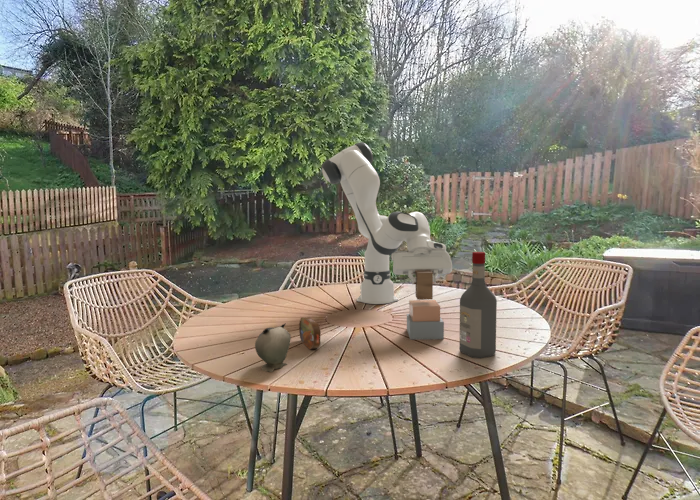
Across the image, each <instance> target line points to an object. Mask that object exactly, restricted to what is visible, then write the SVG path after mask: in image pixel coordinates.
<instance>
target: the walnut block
mask: <svg viewBox="0 0 700 500" xmlns="http://www.w3.org/2000/svg"><path fill="white" fill-rule="evenodd" d="M415 277H416V278H417V284H415V297H416V300H434V299H433V292H434V289H433V287H434V286H433V285H434V284H433V277H434V276H433V273H432V272H431V271H430V270H416V274H415Z"/></svg>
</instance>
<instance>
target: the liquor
mask: <svg viewBox="0 0 700 500" xmlns="http://www.w3.org/2000/svg"><path fill="white" fill-rule="evenodd" d="M471 253H472V254H471V261H472V262H471V263H472V274H471V275H472V279H471V282H470V283H471V284H470V286H469V287H468V288H467V289H466V290H465V291H464V292H463V293H462V294H461V296H460V298H459V351H460V352H461V353H462V354H464V355H466V356H468V357H470V358H474V359H475V358H476V359H484V358H488V357H494V355H495V354H496V350H497V304H498V301H497V300H498V299H497V297H496V295H495V294H494V293H493V292H492V290H491V289H490V288H489V287H488V286H487V283H486V281H485V280H486V277H485V276H486V275H485V271H486V270H485V269H486V268H485V264H486V252H485V251H473V252H471Z"/></svg>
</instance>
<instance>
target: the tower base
mask: <svg viewBox="0 0 700 500" xmlns="http://www.w3.org/2000/svg"><path fill="white" fill-rule="evenodd" d="M444 329H445V322H444V320H443V318H442V317H441V316H440V321H415V322H413V321H412V319H411V317H410V315H409V313H406V332H407V335H408V337H409V340H444V339H445V330H444Z"/></svg>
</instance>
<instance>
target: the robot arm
mask: <svg viewBox="0 0 700 500" xmlns="http://www.w3.org/2000/svg"><path fill="white" fill-rule="evenodd" d="M373 161H374V155H373V152H372V150H371V148H370V146H369V145H368V144H366V143H365V142H363V141H360V142H357V143H354V144H353V145H350V146H348V147H346V148H344V149H342V150H340V152H338V153H336V154H334V155H333V156H332V157H330V158H329V159H326V160H324V161H323V163H322V164H321V171H322V175H323V178H324V179H325V180H326V181H327V182H328V183H329V184H332V185H337V184H340V186H341V189H342V190H343V193H344V194H345V196H346V198H347V200H348V203H349V204H350V206H351V208H352V211H353V213H354V216H355V219H356V222H357V228H358V231H359V233H360V234H361V235H362V236H363V237H364V238H366V239H368V241H367V246H366V250H365V251H364V270H363V278H364V279H363V281H362V282H361V283H360V286H359V287H360V289H359V290H360V291H359V292H360V295H358V297H357V298H356V302H359V303H364V304H370V305H385V304H390V303H393V302H398V301H399V298H398V297H397V296H396V295H395V285H394V282H393V281H392V280H391V269H390V257H391V261H392V262H393V264H392V265H393V266H392V272H393V274H394V275H395V276H398V275H400V276H401V275H403V276H405V275H406V276H407V277H408V278H409V279H410V280H411V284H412V285H416V284H417V278H416V276H415V277H414V275H416V270H430V271H431V272H432V273H433V285H436V284H437V278H438V275H449V274H451V273H452V271H453V263H452V262H453V261H452V258H451V256H450V253H449V252H448V251H447V246H446V244H444V243H440V242H435V241H433V240H432V239H431V228H430V224H429V221H428V219H427V216H426V215H424V213H422V212H419V211H411V212H410V213H407V212H404V211H403V212H402V211H393V212H391V213H390V214H388V216H386V215H380V214H379V211H378V208H377V203H376V202H377V198H378V194H379V190H380V184H381V181H380V177H379V174H378V172H377V171H376V169H375V167H374V166H373V165H372V163H373ZM403 242H405V243H406V246H407V247H406V248H407V249H406V250H401V251H400V250H399V248H400V246H401V245H402V244H403Z"/></svg>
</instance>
